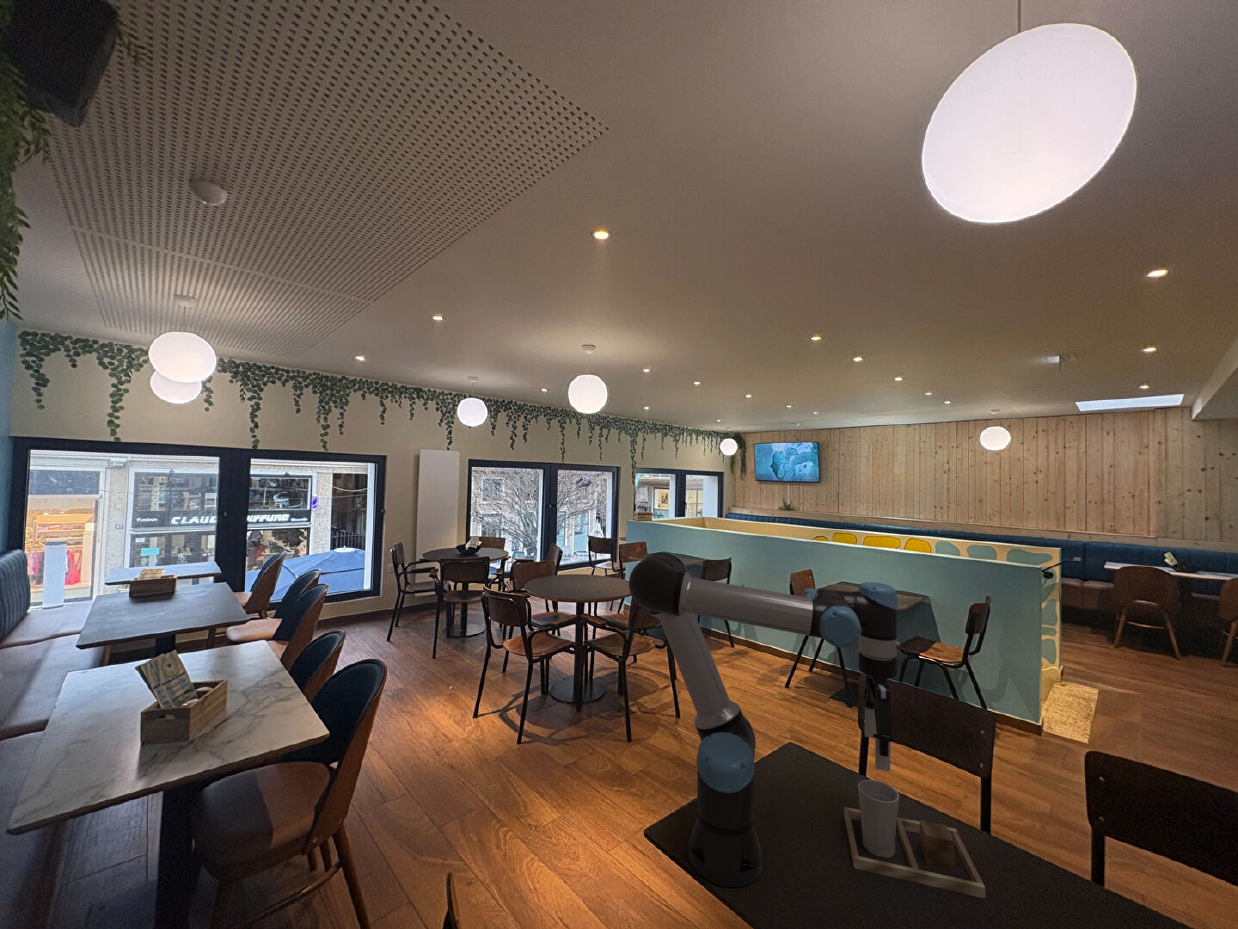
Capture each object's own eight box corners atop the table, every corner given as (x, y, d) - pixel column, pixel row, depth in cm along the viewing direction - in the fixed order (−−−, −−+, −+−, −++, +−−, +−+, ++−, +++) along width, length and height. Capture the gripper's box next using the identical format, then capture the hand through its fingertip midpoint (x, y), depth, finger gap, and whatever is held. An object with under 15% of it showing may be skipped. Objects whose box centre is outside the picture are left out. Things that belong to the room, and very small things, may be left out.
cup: (905, 863, 104) (904, 805, 104) (864, 857, 105) (863, 799, 106) (892, 836, 112) (891, 782, 112) (854, 831, 113) (853, 777, 114)
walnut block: (926, 865, 104) (925, 835, 104) (919, 848, 108) (919, 820, 108) (954, 871, 102) (953, 841, 102) (946, 853, 107) (946, 825, 107)
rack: (853, 868, 102) (853, 858, 102) (844, 815, 118) (844, 806, 119) (985, 898, 95) (985, 888, 95) (955, 838, 111) (955, 828, 111)
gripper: (910, 679, 97) (909, 789, 96) (885, 639, 120) (884, 728, 120) (868, 673, 99) (867, 781, 99) (851, 636, 123) (850, 722, 122)
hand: (876, 752), depth 109 cm, fingers open, 13 cm apart
